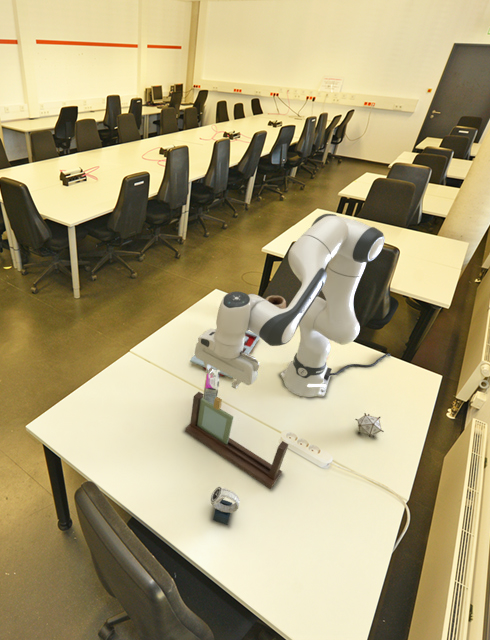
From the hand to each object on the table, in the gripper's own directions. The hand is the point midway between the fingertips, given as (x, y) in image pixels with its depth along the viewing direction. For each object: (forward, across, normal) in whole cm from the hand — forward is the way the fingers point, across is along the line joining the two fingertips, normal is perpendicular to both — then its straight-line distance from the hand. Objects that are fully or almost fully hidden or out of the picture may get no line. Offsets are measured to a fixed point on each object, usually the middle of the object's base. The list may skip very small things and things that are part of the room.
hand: (221, 379), depth 122 cm
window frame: (+29, -8, 0) cm, 30 cm away
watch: (+29, -18, +21) cm, 40 cm away
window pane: (+27, 0, 0) cm, 27 cm away
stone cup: (+29, +18, -83) cm, 90 cm away
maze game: (+29, +23, -46) cm, 59 cm away
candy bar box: (+29, +9, -11) cm, 32 cm away
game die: (+29, -40, -41) cm, 64 cm away
